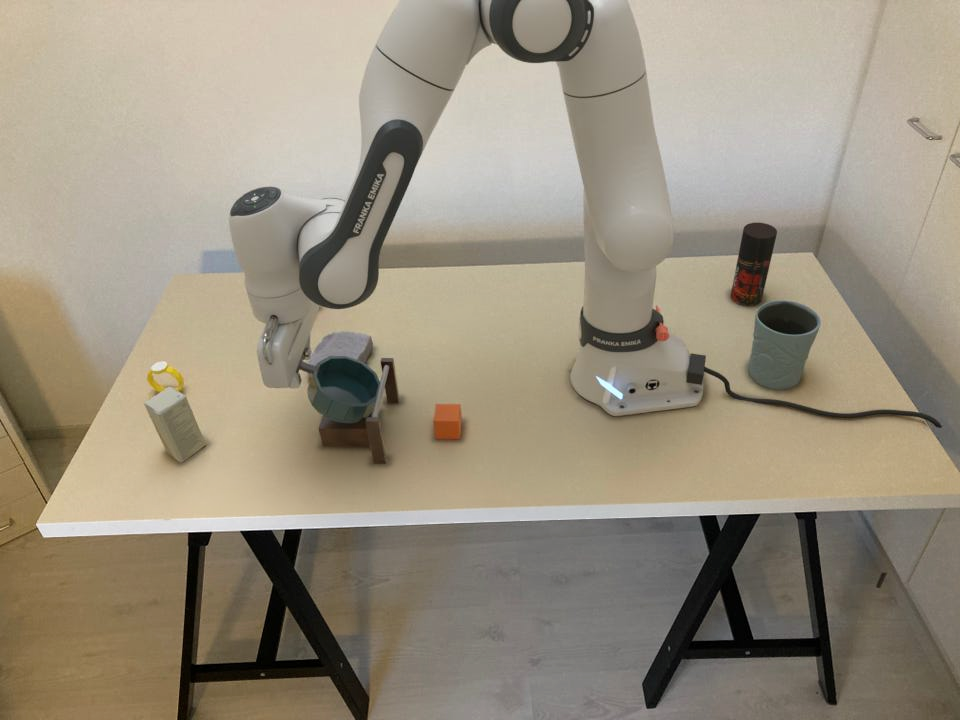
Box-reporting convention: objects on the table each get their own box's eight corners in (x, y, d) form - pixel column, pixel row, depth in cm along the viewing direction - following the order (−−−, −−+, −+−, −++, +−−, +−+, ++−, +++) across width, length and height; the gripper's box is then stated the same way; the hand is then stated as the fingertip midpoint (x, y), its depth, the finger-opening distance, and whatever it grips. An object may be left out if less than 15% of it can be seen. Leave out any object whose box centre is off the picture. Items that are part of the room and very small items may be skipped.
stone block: (307, 389, 138) (357, 386, 135) (298, 368, 135) (349, 364, 132) (331, 350, 147) (378, 347, 144) (322, 330, 144) (370, 326, 141)
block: (460, 404, 124) (435, 403, 125) (458, 421, 121) (433, 420, 122) (461, 421, 127) (437, 421, 127) (459, 439, 124) (435, 438, 124)
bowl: (381, 384, 128) (390, 365, 126) (368, 436, 119) (377, 417, 116) (294, 353, 125) (301, 333, 123) (274, 404, 116) (281, 384, 113)
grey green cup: (751, 392, 129) (764, 336, 122) (737, 355, 137) (749, 299, 130) (812, 391, 129) (829, 335, 121) (794, 354, 137) (810, 298, 129)
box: (191, 434, 128) (172, 384, 121) (207, 445, 125) (187, 394, 118) (164, 452, 124) (142, 402, 117) (179, 464, 122) (158, 413, 115)
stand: (399, 398, 132) (393, 357, 126) (385, 463, 120) (378, 421, 115) (337, 398, 133) (328, 357, 127) (317, 462, 121) (306, 421, 115)
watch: (189, 387, 137) (179, 361, 133) (183, 397, 135) (173, 371, 131) (157, 385, 138) (147, 360, 134) (151, 396, 136) (140, 370, 132)
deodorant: (724, 292, 152) (737, 226, 143) (750, 286, 154) (765, 220, 144) (741, 308, 148) (755, 241, 138) (768, 302, 149) (783, 234, 140)
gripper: (284, 341, 102) (304, 417, 111) (318, 260, 118) (333, 331, 127) (238, 342, 103) (262, 416, 112) (278, 260, 119) (296, 331, 127)
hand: (300, 370), depth 119 cm, fingers closed on bowl, 5 cm apart
